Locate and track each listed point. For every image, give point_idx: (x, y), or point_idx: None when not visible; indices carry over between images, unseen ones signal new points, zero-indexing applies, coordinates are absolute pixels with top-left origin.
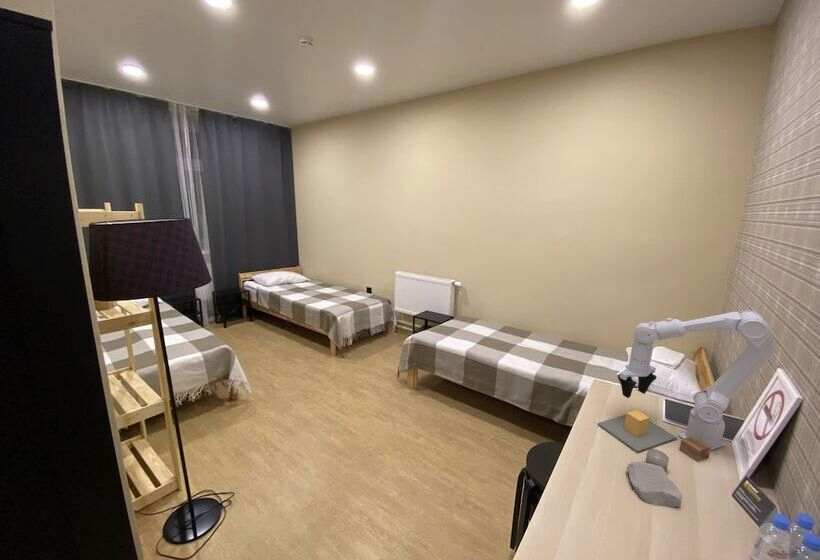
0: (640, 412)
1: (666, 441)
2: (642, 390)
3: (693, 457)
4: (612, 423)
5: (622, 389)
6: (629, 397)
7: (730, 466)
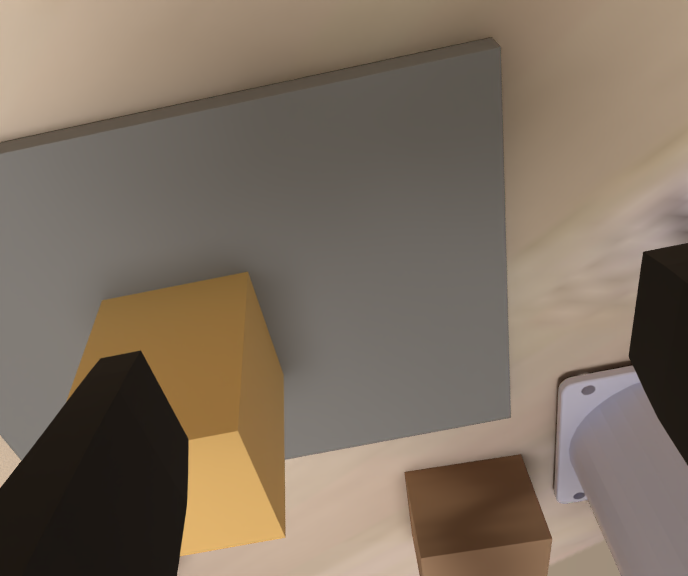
0: (251, 472)
1: (380, 437)
2: (664, 372)
3: (413, 536)
4: (7, 223)
5: (20, 488)
6: (186, 447)
7: (561, 555)
